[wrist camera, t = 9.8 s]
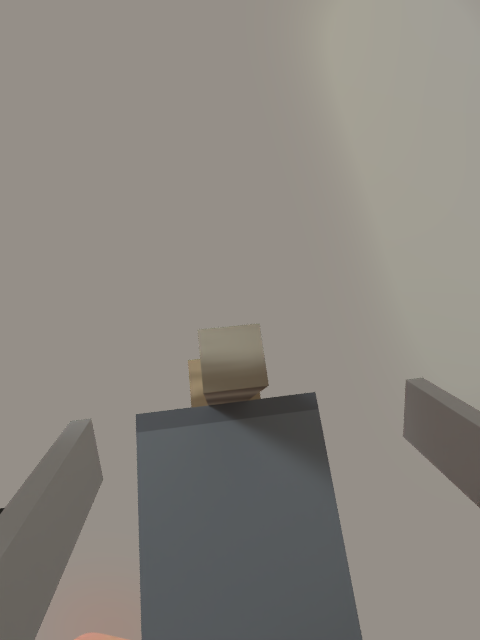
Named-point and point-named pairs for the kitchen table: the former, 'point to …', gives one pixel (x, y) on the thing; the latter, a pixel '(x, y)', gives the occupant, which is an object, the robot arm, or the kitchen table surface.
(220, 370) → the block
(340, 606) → the lidded box
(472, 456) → the robot arm
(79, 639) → the kitchen table surface
